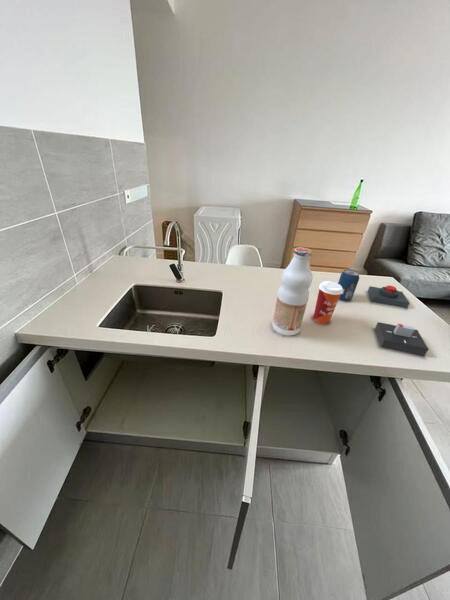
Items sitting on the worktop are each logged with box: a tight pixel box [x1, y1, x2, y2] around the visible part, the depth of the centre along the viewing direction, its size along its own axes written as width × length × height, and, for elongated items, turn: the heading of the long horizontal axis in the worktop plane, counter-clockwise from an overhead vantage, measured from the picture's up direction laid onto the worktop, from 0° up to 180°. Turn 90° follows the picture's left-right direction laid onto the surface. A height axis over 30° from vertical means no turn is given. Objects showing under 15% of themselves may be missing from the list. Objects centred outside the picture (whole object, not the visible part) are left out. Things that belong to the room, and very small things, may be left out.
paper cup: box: [313, 280, 343, 325], centre depth 85 cm, size 8×8×14 cm
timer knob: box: [393, 323, 416, 337], centre depth 77 cm, size 4×2×3 cm, turn 72°
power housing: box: [367, 285, 410, 309], centre depth 103 cm, size 13×10×4 cm
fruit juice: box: [271, 246, 314, 336], centre depth 76 cm, size 9×9×28 cm
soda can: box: [337, 268, 360, 302], centre depth 100 cm, size 7×7×12 cm
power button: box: [385, 285, 397, 293], centre depth 101 cm, size 4×4×2 cm
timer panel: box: [374, 321, 429, 357], centre depth 79 cm, size 12×10×3 cm
